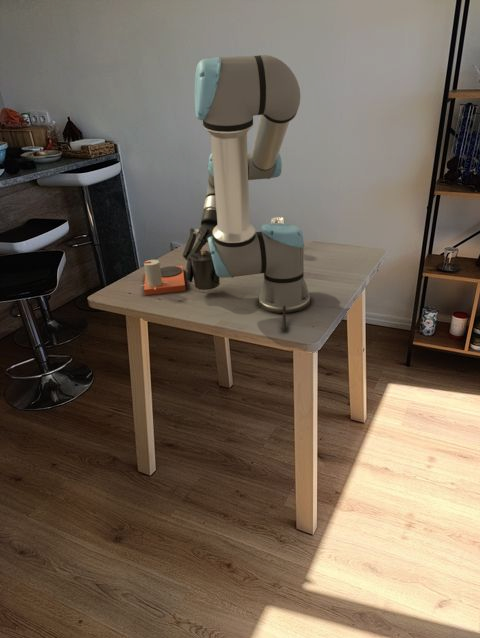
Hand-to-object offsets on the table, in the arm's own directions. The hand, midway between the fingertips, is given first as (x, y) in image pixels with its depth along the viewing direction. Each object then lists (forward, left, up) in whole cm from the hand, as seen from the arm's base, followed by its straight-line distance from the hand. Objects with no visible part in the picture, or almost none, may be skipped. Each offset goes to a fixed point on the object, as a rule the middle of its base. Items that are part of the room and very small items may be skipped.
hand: (202, 281), depth 147 cm
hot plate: (+16, +12, -6) cm, 21 cm away
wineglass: (+36, -31, -6) cm, 48 cm away
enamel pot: (+3, -1, -3) cm, 4 cm away
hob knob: (+11, +15, -4) cm, 19 cm away
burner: (+20, +11, -4) cm, 23 cm away
